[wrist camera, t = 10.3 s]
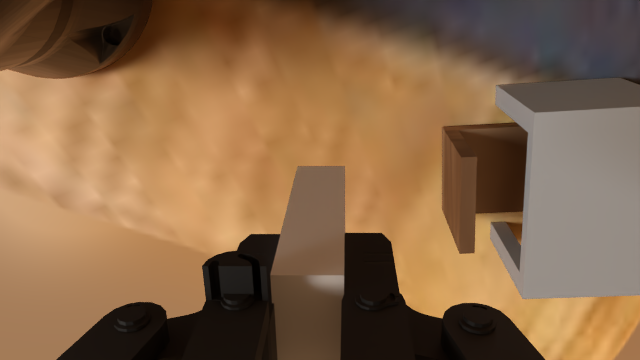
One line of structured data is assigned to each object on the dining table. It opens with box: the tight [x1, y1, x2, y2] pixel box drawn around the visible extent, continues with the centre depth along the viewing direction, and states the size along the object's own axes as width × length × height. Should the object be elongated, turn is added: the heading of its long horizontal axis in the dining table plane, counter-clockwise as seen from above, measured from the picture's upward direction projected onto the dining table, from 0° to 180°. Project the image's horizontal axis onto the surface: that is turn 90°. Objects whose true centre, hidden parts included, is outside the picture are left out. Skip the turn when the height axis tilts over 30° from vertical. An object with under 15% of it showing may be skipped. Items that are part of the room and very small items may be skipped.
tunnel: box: [490, 77, 640, 299], centre depth 38 cm, size 9×13×9 cm
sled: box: [442, 123, 528, 254], centre depth 39 cm, size 23×7×8 cm, turn 94°
